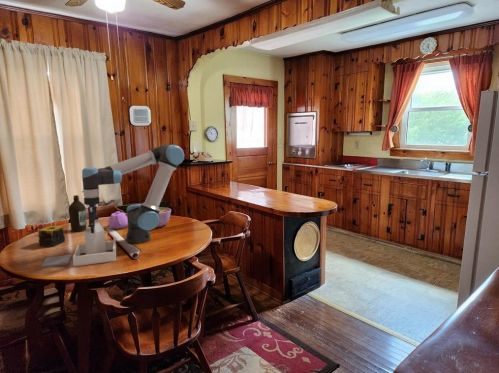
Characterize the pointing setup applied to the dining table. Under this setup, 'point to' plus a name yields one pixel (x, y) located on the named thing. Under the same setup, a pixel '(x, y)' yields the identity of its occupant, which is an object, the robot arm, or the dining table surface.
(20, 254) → the dining table surface
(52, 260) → the slate tile
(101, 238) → the milk carton
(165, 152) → the robot arm
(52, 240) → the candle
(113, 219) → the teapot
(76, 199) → the olive oil
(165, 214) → the bowl of food
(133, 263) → the dining table surface
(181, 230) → the dining table surface
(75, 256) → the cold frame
